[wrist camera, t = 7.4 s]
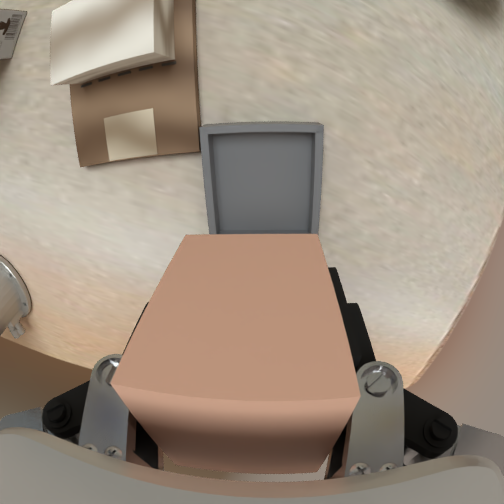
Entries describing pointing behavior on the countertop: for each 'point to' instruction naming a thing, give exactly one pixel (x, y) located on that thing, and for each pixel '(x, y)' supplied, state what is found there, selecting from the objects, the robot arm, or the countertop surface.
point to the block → (242, 356)
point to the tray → (262, 177)
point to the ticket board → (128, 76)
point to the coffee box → (9, 30)
